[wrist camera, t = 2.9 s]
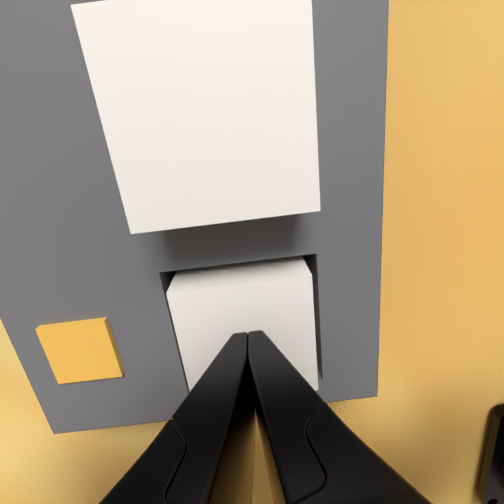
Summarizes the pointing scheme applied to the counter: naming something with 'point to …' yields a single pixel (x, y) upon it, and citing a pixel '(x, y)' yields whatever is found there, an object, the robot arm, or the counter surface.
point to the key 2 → (244, 311)
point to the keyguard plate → (173, 240)
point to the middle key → (205, 107)
